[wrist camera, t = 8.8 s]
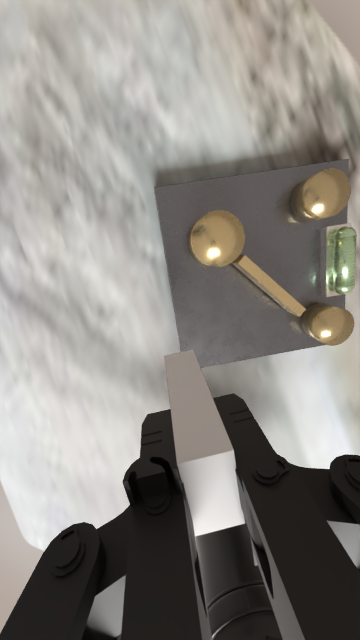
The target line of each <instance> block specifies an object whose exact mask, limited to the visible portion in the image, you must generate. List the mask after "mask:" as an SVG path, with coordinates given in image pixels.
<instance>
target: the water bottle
mask: <svg viewBox="0 0 360 640" xmlns="http://www.w3.org/2000/svg"><path fill="white" fill-rule="evenodd" d="M244 520H245V517H244ZM195 539H196V547H197V552H198V556H199V560H200V565H201V571H202V578H203V584H204V591H205V597H206V603H207V610H208V616H209V623H210V629H211V635H212V640H283V638H282V635H281V632H280V629H279V626H278V623H277V620H276V617H275V614H274V611H273V608H272V605H271V602H270V599H269V596H268V593H267V590H266V587H265V584H264V581H263V578H262V575H261V572H260V569H259V566H258V565H257V566H255V563H254V557H253V550H252V543H251V537H250V532H249V529H248V526H247V523H246V520H245V524H241V525H237V526H233V527H230V528H226V529H222V530H218V531H214V532H210V533H207V534H203V535H199V536H195Z"/></svg>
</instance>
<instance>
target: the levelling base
mask: <svg viewBox="0 0 360 640" xmlns="http://www.w3.org/2000/svg"><path fill="white" fill-rule="evenodd" d="M348 163H349V159H344V160H338V161H331V162H324V163H317V164H310V165H304V166H297V167H290V168H283V169H277V170H270V171H263V172H256V173H249V174H243V175H236V176H229V177H222V178H215V179H209V180H202V181H195V182H188V183H181V184H175V185H168V186H161V187H154V188H155V197H156V203H157V209H158V215H159V221H160V227H161V233H162V239H163V245H164V251H165V257H166V263H167V270H168V276H169V282H170V288H171V294H172V300H173V306H174V312H175V318H176V324H177V330H178V336H179V342H180V348H181V352H185V351H189V350H193V351H194V354H195V356H196V358H197V361H198V363H199V366H200V368H202V367H207V366H213V365H218V364H223V363H229V362H234V361H240V360H245V359H251V358H256V357H262V356H267V355H272V354H278V353H283V352H289V351H294V350H300V349H305V348H310V347H316V346H321V345H331V346H333V345H338V344H341V343H343V342H344V341H345V340H347V339H348V338H349V336H350V335H351V333H352V331H353V328H354V319H353V316H352V314H351V313H350V312H349V311H347V310H345V294H348V293H350V292H351V291H352V290H353V289H354V286H355V265H356V237H357V235H356V231H355V229H353V228H352V227H351V223H348V224H347V203H348V200H349V197H350V191H351V188H350V182H349V179H348ZM215 210H224V211H227V212H230V213H232V214H233V215H235V216H236V217H237V218H238V219H239V221H240V222H241V224H242V226H243V228H244V232H245V243H244V247H243V249H242V252H241V253H240V255H246V256H247V257H248V258H249V259H250V260H251V261H252V262H253V263H255V264H256V265H257V266H258V267H259V268H260V269H261V270H262V271H264V272H265V273H266V274H267V275H268V276H269V277H270V278H271V279H273V280H274V281H275V282H276V283H277V284H278V285H279V286H281V287H282V288H283V289H284V290H285V291H286V292H287V293H288V294H290V295H291V296H292V297H293V298H294V299H295V300H296V301H297V302H299V303H300V304H301V305H302V306H303V307H304V308H305V309H306V310H305V311H304V312H303V313H302V315H301V316H300V317H299V316H297V315H294V314H292V313H289V312H288V311H286V310H285V309H284V308H283V307H282V306H281V305H279V304H278V303H277V302H276V301H275V300H274V299H272V298H271V297H270V296H269V295H268V294H267V293H266V292H264V291H263V290H262V289H261V288H260V287H259V286H257V285H256V284H255V283H254V282H253V281H252V280H250V279H249V278H248V277H247V276H246V275H245V274H243V273H242V272H241V271H240V270H239V269H238V268H236V267H235V266H234V265H233V264H232V263H230V264H228V265H225V266H221V267H214V266H209V265H204V264H202V263H200V262H198V261H197V260H196V259H195V258H194V257H193V256H192V254H191V252H190V250H189V246H188V237H189V233H190V230H191V228H192V227H193V225H194V224H195V223H196V222H197V221H198V220H199V219H200V218H201V217H203V216H204V215H205V214H207V213H209V212H211V211H215Z"/></svg>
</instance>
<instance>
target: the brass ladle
mask: <svg viewBox="0 0 360 640" xmlns="http://www.w3.org/2000/svg"><path fill="white" fill-rule="evenodd" d="M244 243H245V232H244V228H243V226H242V224H241V222H240V221H239V219H238V218H237V217H236V216H235V215H233V214H232V213H230V212H227V211H224V210H215V211H211V212H209V213H207V214H205V215H204V216H203V217H201V218H200V219H199V220H198V221H197V222H196V223H195V224H194V225H193V227H192V228H191V230H190V233H189V237H188V246H189V250H190V252H191V254H192V256H193V257H194V258H195V259H196V260H197V261H198V262H200V263H202V264H204V265H209V266H214V267H221V266H225V265H228V264H230V263H232V264H233V265H234V266H235V267H236V268H238V269H239V270H240V271H241V272H242V273H243V274H245V275H246V276H247V277H248V278H249V279H250V280H252V281H253V282H254V283H255V284H256V285H257V286H259V287H260V288H261V289H262V290H263V291H264V292H266V293H267V294H268V295H269V296H270V297H271V298H272V299H274V300H275V301H276V302H277V303H278V304H279V305H281V306H282V307H283V308H284V309H285V310H286V311H288V312H289V313H292V314H294V315H297V316H299V317H300V316H301V315H302V313H303V312H304V311H305V310H306V309H305V308H304V307H303V306H302V305H301V304H300V303H299V302H297V301H296V300H295V299H294V298H293V297H292V296H291V295H290V294H288V293H287V292H286V291H285V290H284V289H283V288H282V287H281V286H279V285H278V284H277V283H276V282H275V281H274V280H273V279H271V278H270V277H269V276H268V275H267V274H266V273H265V272H264V271H262V270H261V269H260V268H259V267H258V266H257V265H256V264H255V263H253V262H252V261H251V260H250V259H249V258H248V257H247V256H246V255H240V253H241V252H242V249H243V247H244Z"/></svg>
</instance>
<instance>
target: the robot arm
mask: <svg viewBox="0 0 360 640" xmlns="http://www.w3.org/2000/svg"><path fill="white" fill-rule="evenodd" d="M164 357H165V366H166V374H167V383H168V391H169V400H170V408H171V409H169V410H164V411H160V412H156V413H151V414H148V415H147V416H146V418H145V420H144V422H143V424H142V432H141V436H142V438H141V450H140V458H139V459H138V460H136V461H135V462H134V463H132V465H131V466H130V467H129V469H128V470H127V471H126V473H125V476H124V479H123V485H124V488H125V491H126V494H127V497H128V500H129V502H130V505H129V507H128V508H127V509H126V510H125V511H124V512H123V513H121V514H120V515H119V516H117V517H116V518H115V519H113V520H111V521H110V522H108V523H106V524H105V525H103V526H101V527H100V528H98V529H96V528H95V527H94V526H93V525H92V524H88V523H85V522H83V523H78V524H73V525H72V526H70V527H68V528H67V529H65V530H63V531H62V532H61V533H60V534H59V535H58V536H57V537H55V538H54V539H53V540H52V541H51V543H50V544H49V546H48V547H47V549H46V550H45V552H44V553H43V554H42V556H41V558H40V560H39V562H38V564H37V566H36V568H35V570H34V571H33V573H32V575H31V577H30V579H29V581H28V583H27V584H26V586H25V588H24V590H23V592H22V594H21V596H20V598H19V599H18V601H17V603H16V605H15V607H14V609H13V611H12V613H11V614H10V616H9V618H8V620H7V622H6V624H5V626H4V628H3V630H2V632H1V634H0V640H212V635H211V629H210V623H209V616H208V610H207V603H206V597H205V591H204V584H203V578H202V571H201V565H200V560H199V556H198V552H197V547H196V540H195V536H199V535H203V534H207V533H210V532H214V531H218V530H222V529H226V528H230V527H233V526H237V525H241V524H245V520H246V523H247V526H248V529H249V532H250V537H251V543H252V550H253V557H254V563H255V566H257V565H258V566H259V569H260V572H261V575H262V578H263V581H264V584H265V587H266V590H267V593H268V596H269V599H270V602H271V605H272V608H273V611H274V614H275V617H276V620H277V623H278V626H279V629H280V632H281V635H282V638H283V640H360V456H358V455H342V456H339V457H336V458H335V459H334V460H333V461H332V462H331V464H330V469H315V468H304V467H299V466H296V465H293V464H290V463H288V461H287V460H286V459H285V458H283V457H281V456H280V455H278V454H277V453H276V452H275V451H274V450H273V448H272V446H271V445H270V443H269V441H268V440H267V438H266V436H265V435H264V433H263V432H262V430H261V428H260V427H259V425H258V423H257V422H256V420H255V419H254V417H253V415H252V413H251V412H250V411H249V408H248V407H247V405H246V403H245V402H244V400H243V399H241V398H240V397H238V396H237V395H235V394H229V395H225V396H221V397H216V398H212V395H211V393H210V390H209V388H208V385H207V383H206V381H205V378H204V376H203V373H202V371H201V368H200V366H199V363H198V361H197V358H196V356H195V354H194V351H193V350H189V351H185V352H180V353H175V354H171V355H166V356H164ZM244 517H245V520H244Z"/></svg>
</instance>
